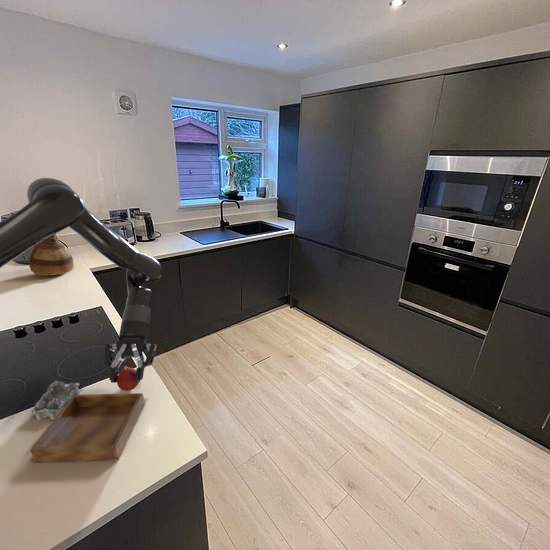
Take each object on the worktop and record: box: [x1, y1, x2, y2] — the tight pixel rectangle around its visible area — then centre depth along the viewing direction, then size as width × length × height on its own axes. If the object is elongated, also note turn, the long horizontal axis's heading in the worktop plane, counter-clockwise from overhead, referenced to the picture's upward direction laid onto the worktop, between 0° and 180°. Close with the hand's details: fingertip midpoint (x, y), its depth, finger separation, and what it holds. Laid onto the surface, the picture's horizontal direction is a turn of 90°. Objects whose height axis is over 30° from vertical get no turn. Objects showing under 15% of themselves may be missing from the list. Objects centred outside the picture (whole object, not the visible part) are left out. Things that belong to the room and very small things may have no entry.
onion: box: [116, 365, 140, 392], centre depth 81 cm, size 6×6×8 cm
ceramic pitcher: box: [28, 233, 75, 277], centre depth 157 cm, size 20×20×30 cm
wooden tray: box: [29, 392, 146, 464], centre depth 69 cm, size 18×16×4 cm
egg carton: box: [29, 379, 81, 421], centre depth 76 cm, size 11×8×4 cm
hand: (125, 382), depth 79 cm, fingers closed on onion, 5 cm apart
